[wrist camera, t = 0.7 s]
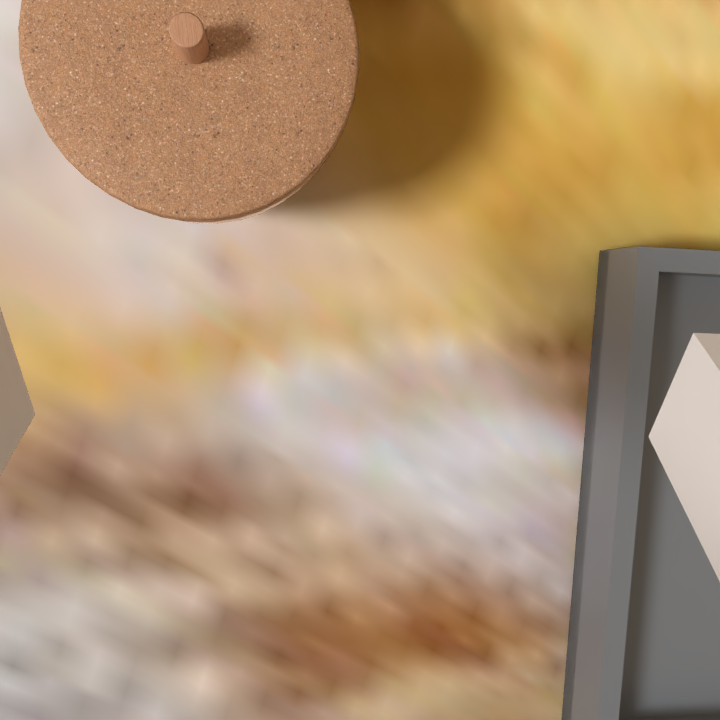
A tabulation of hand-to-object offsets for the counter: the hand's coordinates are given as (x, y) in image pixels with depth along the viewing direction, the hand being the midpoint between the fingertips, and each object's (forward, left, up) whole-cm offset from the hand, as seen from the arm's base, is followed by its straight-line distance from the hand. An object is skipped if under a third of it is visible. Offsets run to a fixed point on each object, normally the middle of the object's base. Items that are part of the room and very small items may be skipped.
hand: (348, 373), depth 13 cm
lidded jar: (+9, +4, -18) cm, 20 cm away
